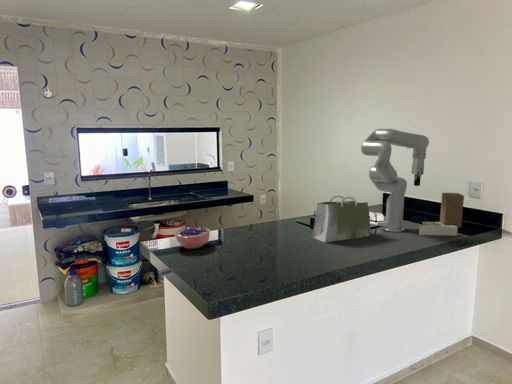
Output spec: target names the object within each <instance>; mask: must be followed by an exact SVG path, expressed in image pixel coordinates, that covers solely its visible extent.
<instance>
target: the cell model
mask: <svg viewBox="0 0 512 384" xmlns="http://www.w3.org/2000/svg"><path fill="white" fill-rule="evenodd" d="M210 232H211V229H210V228H208V227H205V226H198V227H197V226H196V227H192V226H186V227H185V228H180V229H179V230H177V231H176V232H175V233H174V236H175V240H176V241H177V242H178V244H179V245H180V246H181V247H183V248H185V249H187V250H188V249H189V250H191V249H192V250H193V249H198V248H201V247H203V246H204V245H205V244H207V243H208V242H209V240H210V235H211V233H210Z"/></svg>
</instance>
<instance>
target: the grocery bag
mask: <svg viewBox="0 0 512 384" xmlns="http://www.w3.org/2000/svg"><path fill="white" fill-rule="evenodd" d="M336 198H340V199H342V200H341V201H333V199H336ZM348 199H349V200H348ZM345 200H346V201H345ZM369 210H370V209H369V203H368V201H367V202H366V201H365V202H358V201H357V200H356V199H355V198H354V197H352V196H346V197H344V196H343V195H334V196H332V197H331V198H330V199H329V201H324V202H323V201H322V202H317V204H316V214H315V218H314V223H313V227H312V232H311V236H310V238H313V239H315V240H318V241H320V242H323V243H325V244H327V243H331V242H335V241H336V242H337V241H343V240H345V241H346V240H352V239H361V238H365V237H370V236H371V235H372V234H371V223H370V221H371V220H370V211H369Z"/></svg>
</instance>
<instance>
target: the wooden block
mask: <svg viewBox="0 0 512 384" xmlns="http://www.w3.org/2000/svg"><path fill="white" fill-rule="evenodd" d="M464 199H465V196H464V195H463V194H461V193H459V192H441V200H440V201H441V204H440V213H439V222H441V223H442V224H444V225H446V226H457V227H458V229H460V228H462V224H463V223H462V222H463V220H462V219H463V211H464Z"/></svg>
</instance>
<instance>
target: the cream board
mask: <svg viewBox="0 0 512 384" xmlns="http://www.w3.org/2000/svg"><path fill="white" fill-rule="evenodd" d="M458 229H459V228H458V227H457V226H442V225H422V224H419V226H418V235H420V236H456V237H457V235H458Z"/></svg>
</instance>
